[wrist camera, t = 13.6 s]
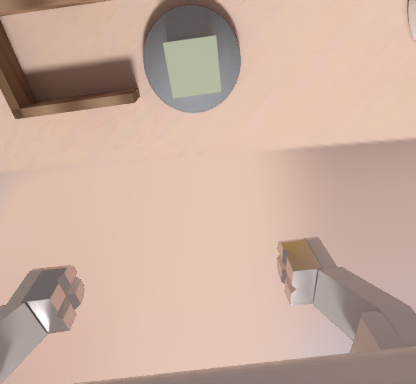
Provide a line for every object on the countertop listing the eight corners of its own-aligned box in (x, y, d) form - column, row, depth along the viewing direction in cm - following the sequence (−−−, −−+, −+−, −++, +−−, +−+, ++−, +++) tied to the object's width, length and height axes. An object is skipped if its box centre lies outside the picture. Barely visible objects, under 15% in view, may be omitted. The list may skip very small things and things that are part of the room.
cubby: (113, -13, 27) (103, -19, 24) (139, 96, 33) (134, 102, 30) (-17, 6, 27) (-42, 2, 24) (31, 111, 33) (15, 119, 30)
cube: (212, 35, 29) (216, 35, 24) (217, 84, 31) (221, 91, 27) (167, 42, 29) (162, 42, 24) (175, 90, 31) (172, 98, 27)
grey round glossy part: (235, -1, 28) (237, -3, 27) (241, 104, 34) (243, 106, 33) (134, 13, 28) (131, 12, 27) (156, 116, 34) (155, 118, 33)
